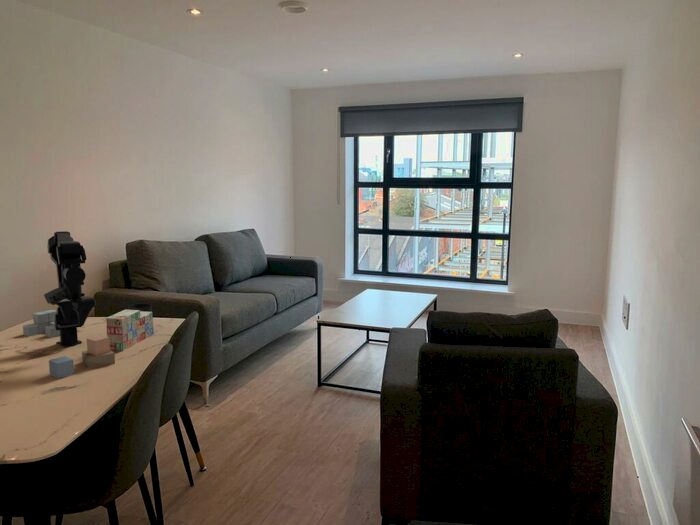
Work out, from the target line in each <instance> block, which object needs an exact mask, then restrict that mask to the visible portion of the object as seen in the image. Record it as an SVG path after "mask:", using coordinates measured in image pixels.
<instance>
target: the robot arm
mask: <svg viewBox="0 0 700 525" xmlns="http://www.w3.org/2000/svg"><path fill="white" fill-rule="evenodd" d="M46 247H47V253H48V254H49V255H50V256H49V257H50V260H51V261H52V262H53V263H54V264H55V266H56V267H55V269H56V277H57V284H58V285H57V286H58V287H57V288H55V289H51V290H49V291H48V292H46V293H44V294H43V296H44V298H45V301H46V302H47V304H49V305H52V306H55V305H57V308H56V309H55V310H56V314H55V319H54V324H55V329H56V330H60V336H59V341H56V343H55V344H56V345H58V346H62V347H64V348H65V347H66V348H67V347H70V346H73V345H78V344H82V343H83V341H81V340H79V339H78V328H82V327H83V326H84V325H85V323H86V321H87V318H88V316H89V314H90V313H91V310H92V309H93V308H94V307H95V306H97V300H96V299H95V298H94V297H93V296H92V297H91V296H85V295H86V294H85V293H84V292H83V289H82V288H83V287H82V286H84V285H85V282H84V281H85V278H86V272H85V270H84V269H83V268H82V267H81V264H86V261H87V253H86V250H85V248H84V247H83V245H81V243H80V241H76V240H74V238H73V237H72V235H71V232H70V231H68V230H67V231H66V230H65V231H55V232H54V233H53V236H50V237H49V239H47V246H46ZM48 254H47V255H48Z"/></svg>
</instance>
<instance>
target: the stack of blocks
mask: <svg viewBox="0 0 700 525" xmlns="http://www.w3.org/2000/svg"><path fill="white" fill-rule="evenodd" d="M153 315H154V314H153V311H151V312H143V311H140V310H127V308H126V309H124V310H121V311H119V312H116V313H115V314H112V315H110V316H107V317H106V321H105V322H106V336H107V337H109V342H110V350H111V351H117V352H118V351H120V352H124V351H126V350H128V349H130V348H131V347H133V346H135V345H138V343H141V341H144V340H145V339H147V338H149V337H150V336H152V335H154V334H155V333H154V317H153Z"/></svg>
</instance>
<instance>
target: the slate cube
mask: <svg viewBox="0 0 700 525" xmlns="http://www.w3.org/2000/svg"><path fill="white" fill-rule="evenodd" d="M48 366H49V369H48V370H49V375H50V376H51V377H53V378H55V379H63V378H64V377H65V378H66V377H68V376H72V375H75V368H74V358H71V357H68V356H67V355H63V356H60V357H56V358H52V359H49V360H48Z"/></svg>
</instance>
